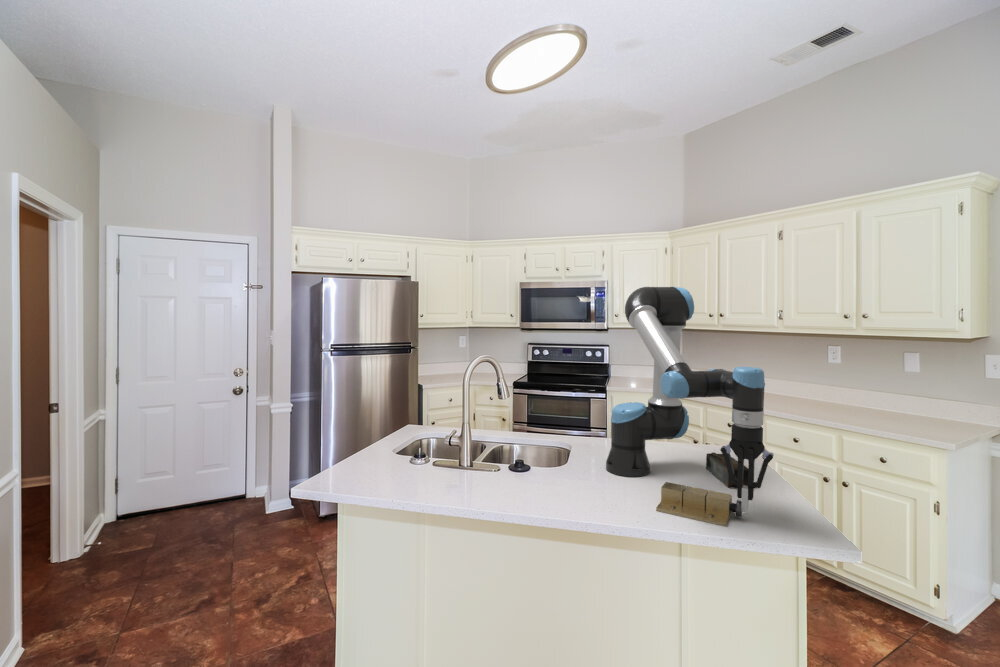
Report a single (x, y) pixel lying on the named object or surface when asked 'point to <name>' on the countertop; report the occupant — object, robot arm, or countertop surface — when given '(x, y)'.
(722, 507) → the hinge
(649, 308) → the robot arm
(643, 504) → the countertop surface
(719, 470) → the dark brown rectangular block
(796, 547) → the countertop surface
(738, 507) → the hinge pin
